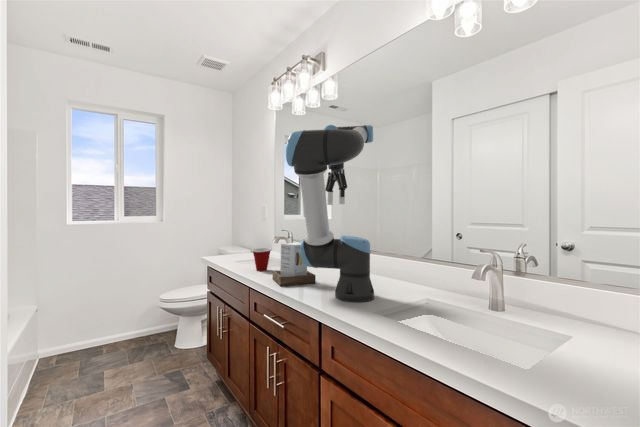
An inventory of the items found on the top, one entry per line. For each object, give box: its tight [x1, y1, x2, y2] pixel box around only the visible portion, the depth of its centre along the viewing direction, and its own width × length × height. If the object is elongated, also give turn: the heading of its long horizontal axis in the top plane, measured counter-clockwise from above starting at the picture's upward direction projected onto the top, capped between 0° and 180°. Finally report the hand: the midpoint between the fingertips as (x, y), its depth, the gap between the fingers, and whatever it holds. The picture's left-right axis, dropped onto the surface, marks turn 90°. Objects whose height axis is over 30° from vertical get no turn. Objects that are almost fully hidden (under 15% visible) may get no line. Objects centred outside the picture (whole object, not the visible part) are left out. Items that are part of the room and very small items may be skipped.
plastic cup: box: [251, 247, 272, 272], centre depth 172 cm, size 11×11×12 cm
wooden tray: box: [272, 270, 316, 288], centre depth 144 cm, size 15×16×4 cm
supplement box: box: [279, 242, 308, 277], centre depth 145 cm, size 10×9×17 cm
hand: (335, 204), depth 149 cm, fingers open, 13 cm apart
